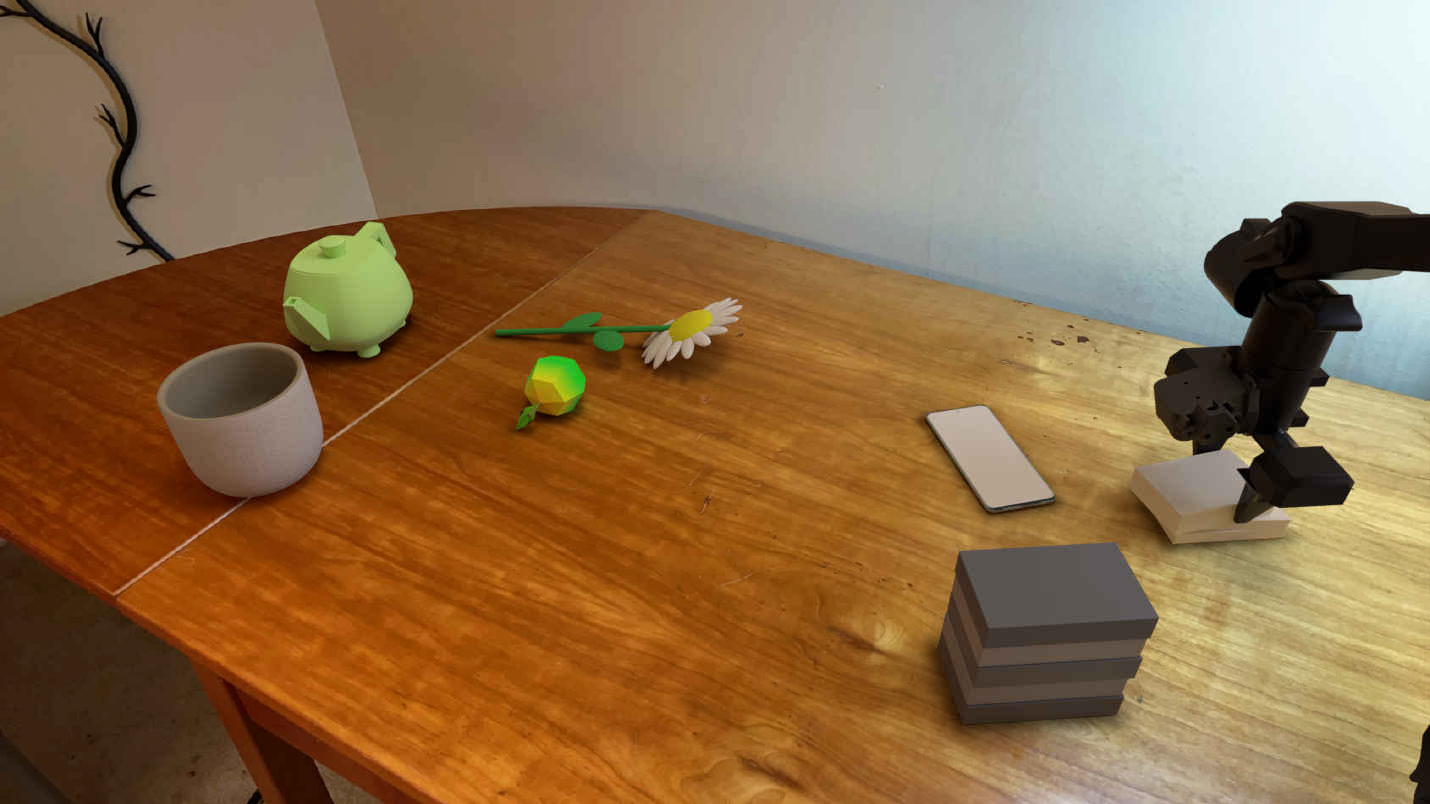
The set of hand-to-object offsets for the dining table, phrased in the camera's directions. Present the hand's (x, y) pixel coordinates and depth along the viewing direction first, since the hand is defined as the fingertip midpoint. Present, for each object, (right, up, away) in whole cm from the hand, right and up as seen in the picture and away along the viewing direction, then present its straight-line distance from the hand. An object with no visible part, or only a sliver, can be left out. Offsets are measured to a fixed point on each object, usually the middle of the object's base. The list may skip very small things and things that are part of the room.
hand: (1218, 493), depth 82 cm
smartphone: (-19, +3, +8) cm, 20 cm away
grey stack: (-22, -13, -12) cm, 28 cm away
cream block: (-2, -1, 0) cm, 2 cm away
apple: (-63, +7, +15) cm, 65 cm away
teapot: (-88, +16, +27) cm, 94 cm away
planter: (-90, +1, +8) cm, 90 cm away
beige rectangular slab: (0, -2, +2) cm, 3 cm away
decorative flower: (-57, +15, +25) cm, 64 cm away
